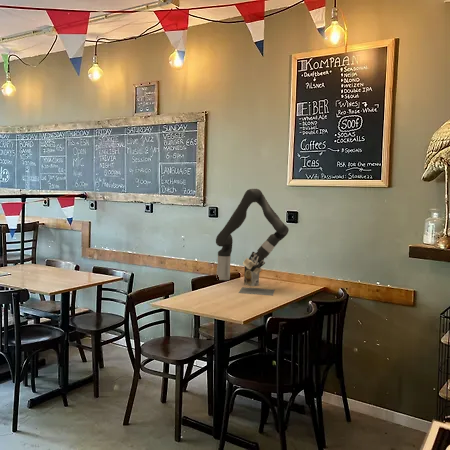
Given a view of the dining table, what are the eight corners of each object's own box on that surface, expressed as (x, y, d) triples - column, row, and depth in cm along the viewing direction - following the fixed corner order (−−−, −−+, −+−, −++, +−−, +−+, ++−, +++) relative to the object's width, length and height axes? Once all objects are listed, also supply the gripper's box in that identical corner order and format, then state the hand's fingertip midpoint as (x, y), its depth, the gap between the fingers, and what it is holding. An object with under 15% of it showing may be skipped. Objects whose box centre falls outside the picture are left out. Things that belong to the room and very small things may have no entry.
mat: (238, 293, 299) (238, 293, 299) (242, 287, 316) (242, 287, 316) (272, 296, 296) (272, 295, 296) (274, 290, 312) (274, 289, 312)
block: (257, 274, 310) (245, 266, 302) (254, 271, 314) (242, 263, 306) (262, 269, 310) (250, 261, 302) (258, 265, 314) (246, 257, 306)
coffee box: (243, 284, 327) (244, 261, 326) (250, 283, 331) (251, 260, 330) (252, 286, 320) (253, 263, 318) (259, 285, 324) (260, 262, 322)
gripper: (257, 241, 310) (240, 261, 311) (268, 251, 299) (251, 272, 300) (263, 246, 315) (247, 265, 316) (275, 256, 303) (258, 277, 305)
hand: (249, 268), depth 308 cm, fingers closed on block, 4 cm apart
